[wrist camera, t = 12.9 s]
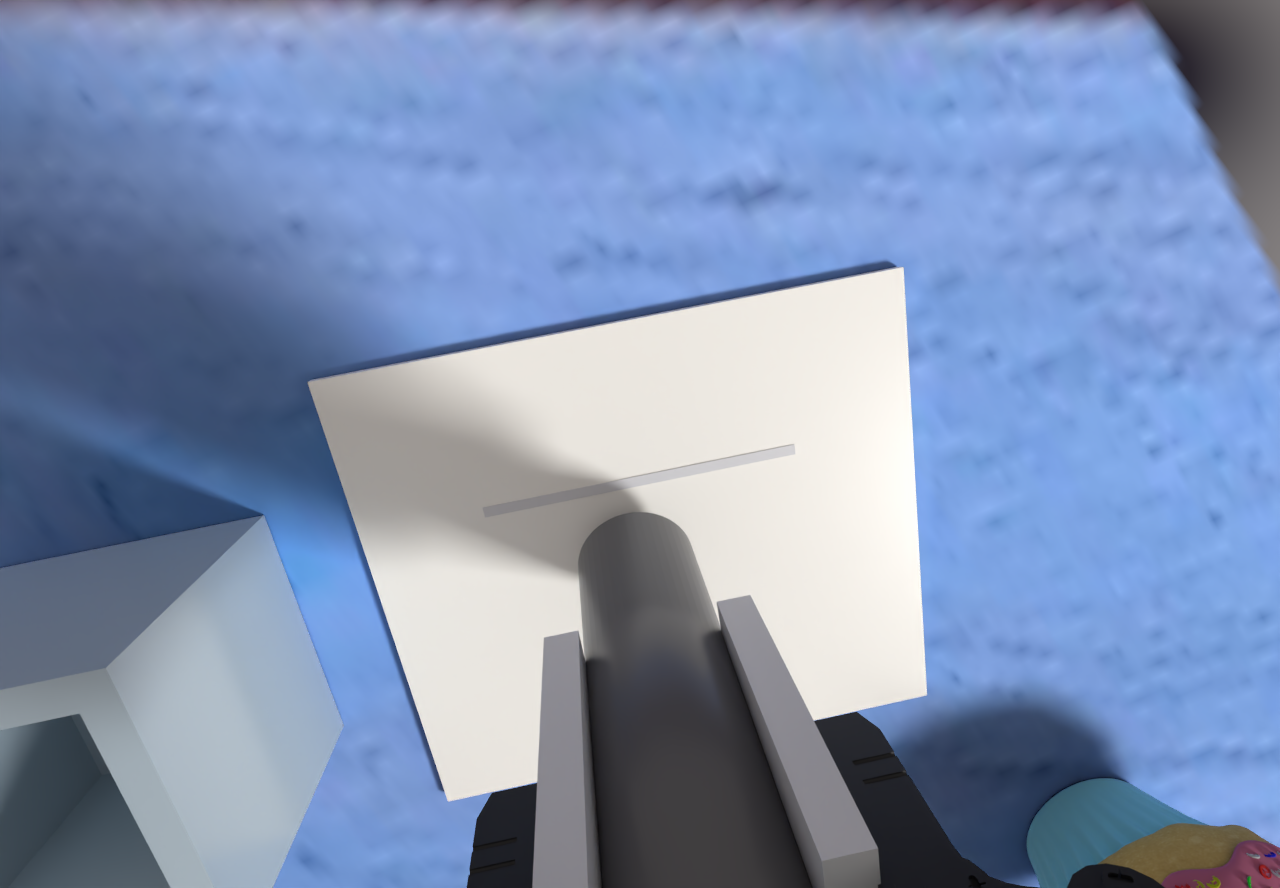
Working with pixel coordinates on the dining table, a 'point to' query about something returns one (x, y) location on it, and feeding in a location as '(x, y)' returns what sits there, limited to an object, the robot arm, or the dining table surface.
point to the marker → (672, 724)
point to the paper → (640, 498)
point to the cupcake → (1143, 841)
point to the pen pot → (157, 714)
